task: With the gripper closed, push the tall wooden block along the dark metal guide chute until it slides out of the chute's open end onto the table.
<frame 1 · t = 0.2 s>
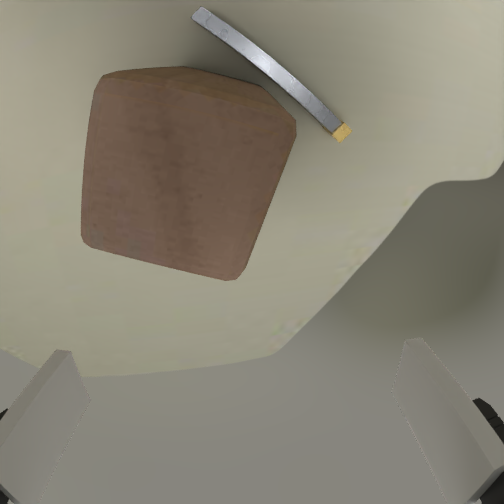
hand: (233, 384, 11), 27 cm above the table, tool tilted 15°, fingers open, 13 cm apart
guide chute: (216, 123, 31), on the table
wooden block: (209, 117, 31), on the table
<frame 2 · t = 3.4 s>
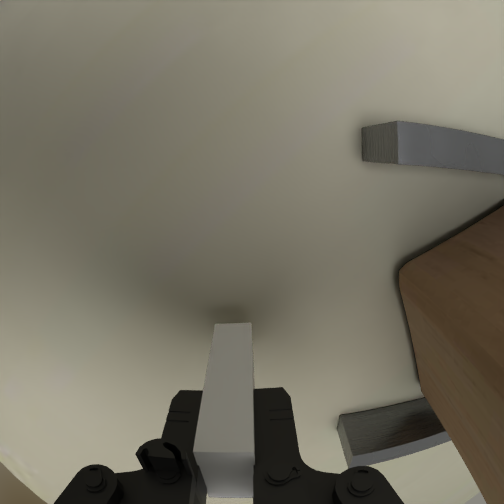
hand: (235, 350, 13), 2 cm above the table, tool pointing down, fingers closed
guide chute: (483, 296, 15), on the table
wooden block: (470, 296, 15), on the table
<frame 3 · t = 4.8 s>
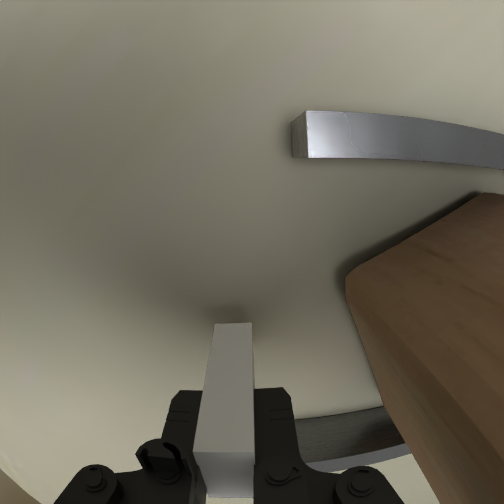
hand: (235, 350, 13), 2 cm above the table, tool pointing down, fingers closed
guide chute: (448, 299, 15), on the table
wooden block: (436, 303, 15), on the table, touching hand
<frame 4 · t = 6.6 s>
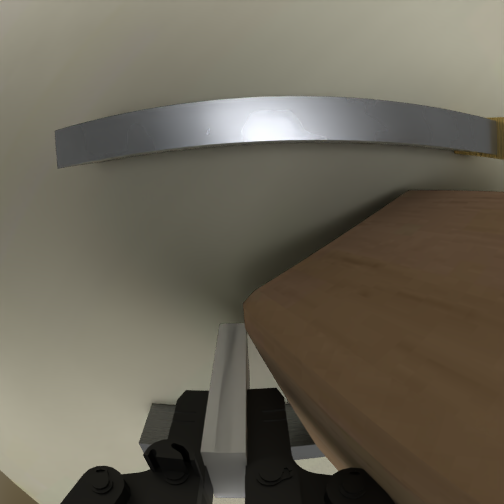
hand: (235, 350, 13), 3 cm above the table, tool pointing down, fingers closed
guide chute: (293, 299, 15), on the table
wooden block: (362, 323, 14), point 2 cm above the table, touching gripper, hand
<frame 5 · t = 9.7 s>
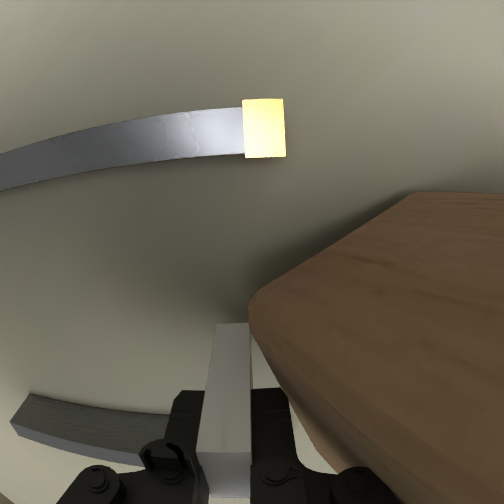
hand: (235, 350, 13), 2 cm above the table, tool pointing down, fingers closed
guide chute: (92, 315, 15), on the table
wooden block: (365, 326, 14), point 2 cm above the table, touching hand
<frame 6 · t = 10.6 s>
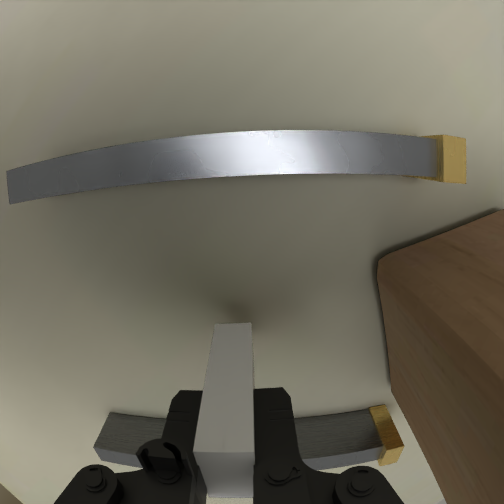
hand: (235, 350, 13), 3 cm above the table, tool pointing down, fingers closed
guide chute: (225, 324, 16), on the table
wooden block: (450, 301, 16), on the table
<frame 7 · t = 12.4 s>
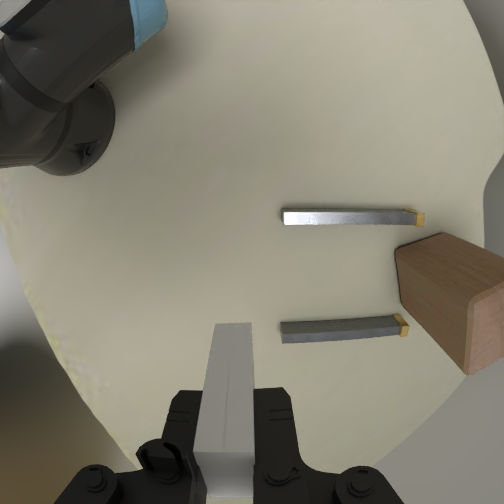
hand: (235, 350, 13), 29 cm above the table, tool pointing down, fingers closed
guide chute: (344, 272, 43), on the table
wooden block: (423, 268, 43), on the table
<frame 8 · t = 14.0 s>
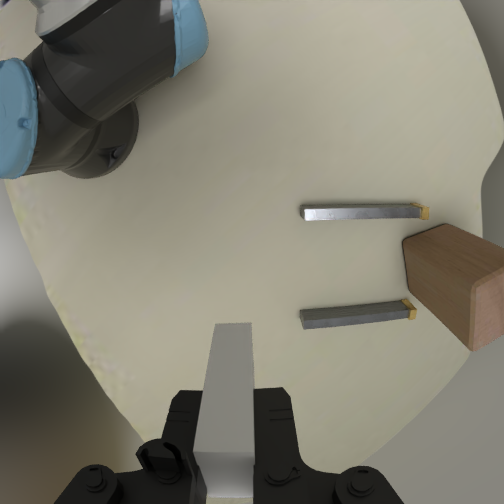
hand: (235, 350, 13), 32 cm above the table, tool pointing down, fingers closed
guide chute: (357, 262, 46), on the table
wooden block: (427, 256, 46), on the table
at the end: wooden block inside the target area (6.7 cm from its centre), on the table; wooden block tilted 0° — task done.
